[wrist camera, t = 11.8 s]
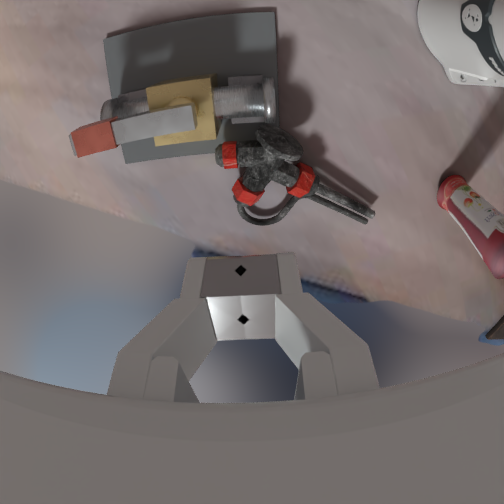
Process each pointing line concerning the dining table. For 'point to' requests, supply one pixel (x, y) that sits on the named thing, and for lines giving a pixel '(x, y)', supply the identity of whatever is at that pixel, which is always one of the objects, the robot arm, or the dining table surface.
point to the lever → (132, 128)
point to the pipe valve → (201, 103)
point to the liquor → (475, 220)
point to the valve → (278, 174)
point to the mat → (193, 68)
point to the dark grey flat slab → (497, 330)
